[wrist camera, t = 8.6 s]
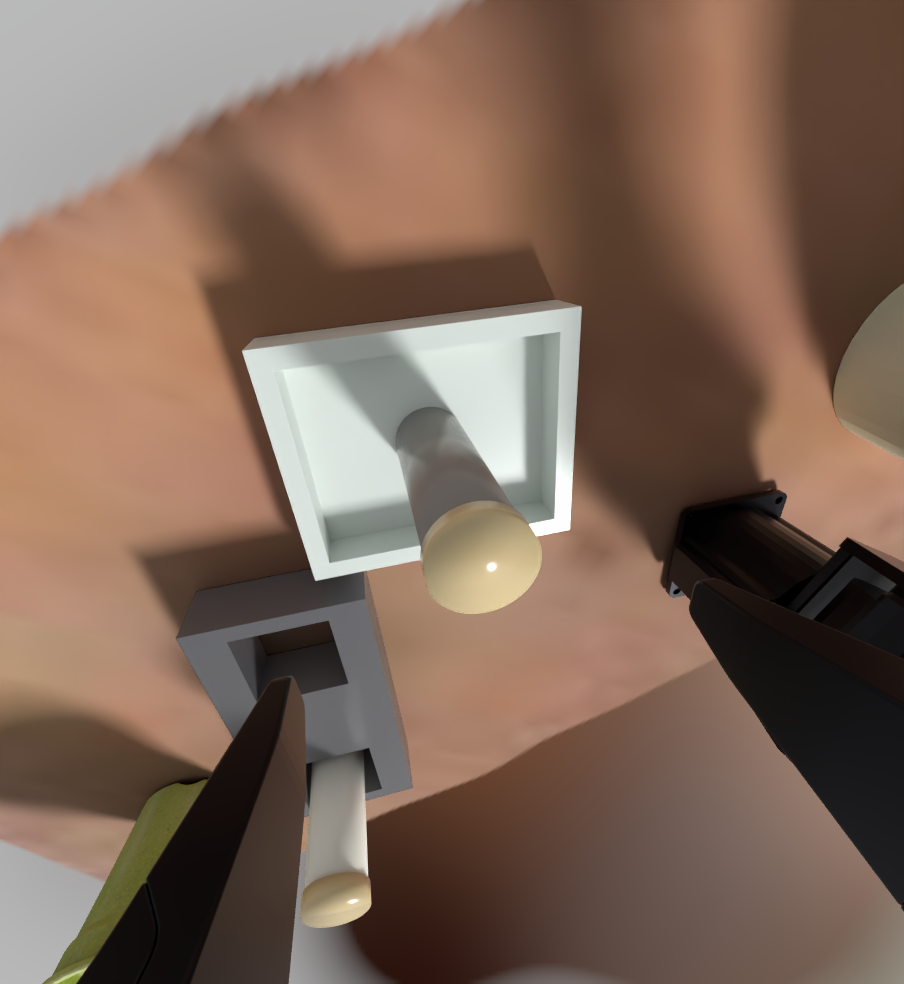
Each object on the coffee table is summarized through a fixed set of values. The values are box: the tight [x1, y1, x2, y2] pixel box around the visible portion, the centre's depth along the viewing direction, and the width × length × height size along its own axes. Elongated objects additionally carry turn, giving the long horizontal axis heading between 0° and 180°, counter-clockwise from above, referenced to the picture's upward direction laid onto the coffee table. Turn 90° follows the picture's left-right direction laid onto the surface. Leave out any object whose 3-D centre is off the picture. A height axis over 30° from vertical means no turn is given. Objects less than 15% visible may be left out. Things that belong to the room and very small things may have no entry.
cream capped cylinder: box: [395, 407, 542, 614], centre depth 16 cm, size 3×3×9 cm
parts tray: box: [242, 300, 582, 581], centre depth 19 cm, size 12×10×2 cm
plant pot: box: [43, 779, 207, 984], centre depth 25 cm, size 9×9×9 cm
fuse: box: [300, 749, 371, 928], centre depth 25 cm, size 3×3×9 cm
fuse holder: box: [176, 569, 413, 817], centre depth 25 cm, size 8×16×3 cm, turn 5°
